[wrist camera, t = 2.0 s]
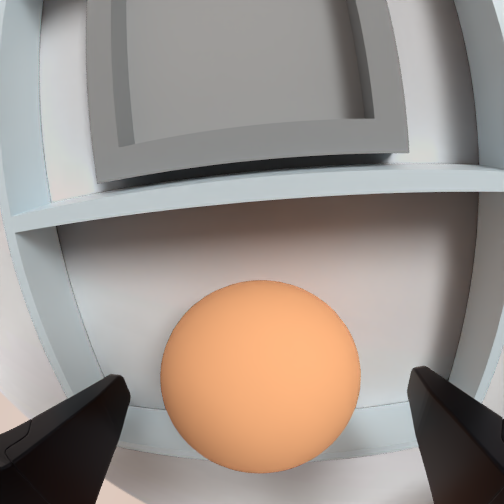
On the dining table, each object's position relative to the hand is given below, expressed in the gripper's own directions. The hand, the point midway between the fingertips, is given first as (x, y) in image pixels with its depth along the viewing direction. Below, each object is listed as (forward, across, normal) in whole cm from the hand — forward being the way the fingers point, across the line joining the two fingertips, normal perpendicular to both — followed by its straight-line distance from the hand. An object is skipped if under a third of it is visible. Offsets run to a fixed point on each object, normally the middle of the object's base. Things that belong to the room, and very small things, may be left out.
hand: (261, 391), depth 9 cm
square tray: (+4, 0, -11) cm, 12 cm away
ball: (+4, 0, 0) cm, 4 cm away
